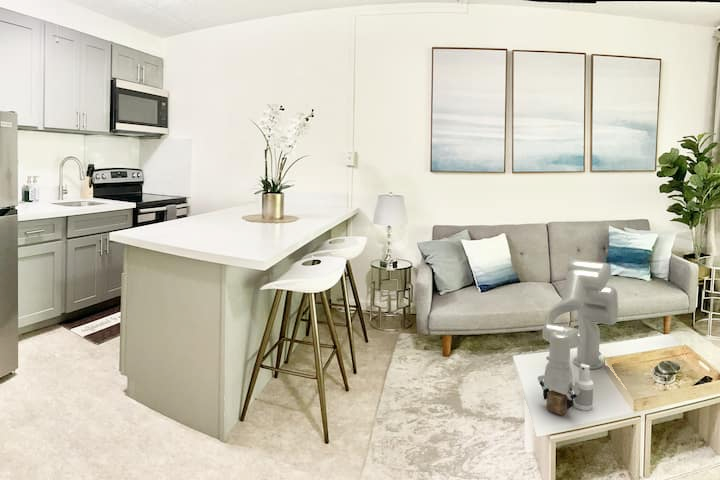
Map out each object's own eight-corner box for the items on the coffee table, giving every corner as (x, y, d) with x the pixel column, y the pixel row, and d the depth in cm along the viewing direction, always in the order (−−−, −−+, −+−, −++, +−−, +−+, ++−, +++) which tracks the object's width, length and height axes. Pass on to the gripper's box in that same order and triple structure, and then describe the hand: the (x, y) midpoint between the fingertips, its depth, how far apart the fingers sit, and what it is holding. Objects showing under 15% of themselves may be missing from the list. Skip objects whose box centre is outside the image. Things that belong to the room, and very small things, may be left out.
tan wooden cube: (546, 409, 190) (547, 392, 188) (554, 403, 193) (555, 387, 192) (561, 415, 185) (561, 398, 184) (568, 409, 189) (569, 392, 188)
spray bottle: (571, 406, 193) (572, 365, 189) (577, 400, 197) (579, 360, 194) (588, 412, 188) (590, 370, 185) (594, 406, 192) (596, 364, 189)
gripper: (533, 359, 190) (532, 398, 193) (576, 373, 177) (574, 414, 180) (543, 353, 195) (542, 392, 198) (585, 366, 182) (583, 407, 185)
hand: (557, 402), depth 189 cm, fingers open, 9 cm apart
